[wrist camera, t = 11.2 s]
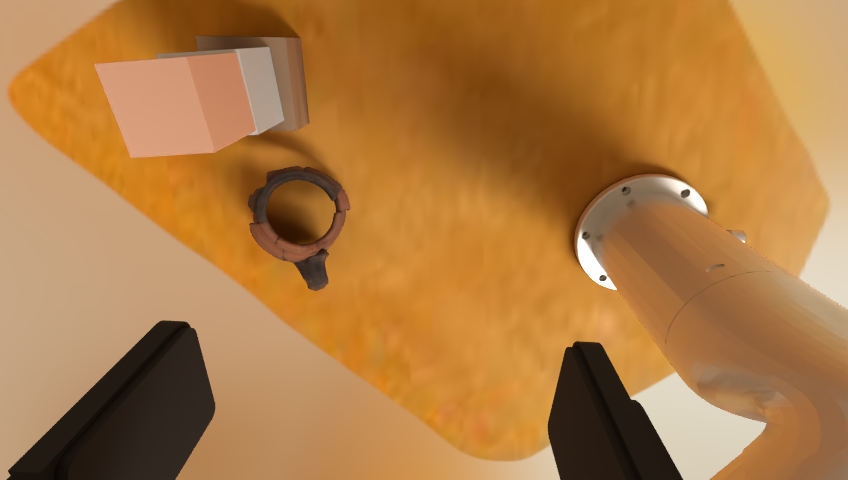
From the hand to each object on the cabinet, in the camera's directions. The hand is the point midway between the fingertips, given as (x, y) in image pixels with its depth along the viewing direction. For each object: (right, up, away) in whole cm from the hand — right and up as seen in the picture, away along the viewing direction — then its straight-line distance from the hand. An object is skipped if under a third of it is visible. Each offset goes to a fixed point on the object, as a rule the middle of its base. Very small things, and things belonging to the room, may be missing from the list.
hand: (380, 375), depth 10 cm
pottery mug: (-11, +6, +31) cm, 34 cm away
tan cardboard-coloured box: (-13, +18, +26) cm, 34 cm away
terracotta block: (-13, +13, +17) cm, 26 cm away
